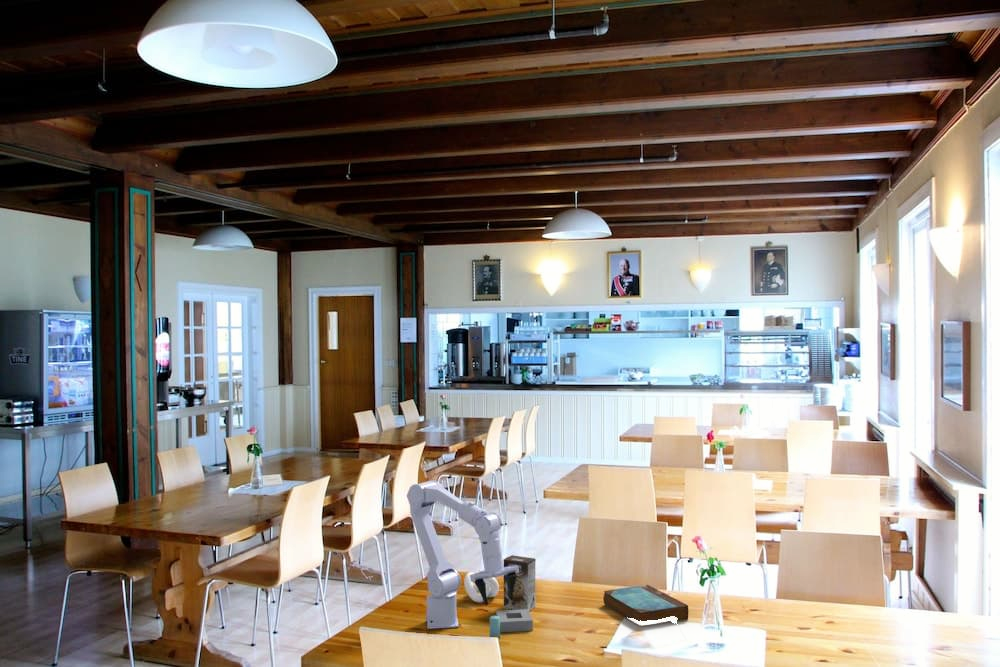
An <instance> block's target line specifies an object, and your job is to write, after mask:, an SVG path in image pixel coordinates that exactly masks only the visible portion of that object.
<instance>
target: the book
mask: <svg viewBox="0 0 1000 667" xmlns="http://www.w3.org/2000/svg"><path fill="white" fill-rule="evenodd" d="M603 592H604V593H603V603H604V604H605V605H606V606H605V605H604V606H605V607H607V606H608V607H607V608H609V609H610V608H611V609H610V610H612V611H613V610H614V611H613V612H616V614H618V615H620V616H621V617H623V618H625V619H626V618H627V617H628V618H634V619H636V620H638V621H640V620H641V621H647V620H658V619H662V618H666V617H670V616H675V617H677V618H678V621H682V620H689V605H688V604H686V603H685V602H682V601H681V600H678V599H677V598H675V597H672V596H670V595H669V594H667V593H665V592H663V591H660V589H659V590H658V588H655V587H653V586H651V585H649V584H646V585H636V586H629V587H628V586H627V587H622V588H614V589H608V590H603Z"/></svg>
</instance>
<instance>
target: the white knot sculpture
mask: <svg viewBox="0 0 1000 667" xmlns="http://www.w3.org/2000/svg"><path fill="white" fill-rule="evenodd" d="M482 571H484V568H483V569H481V570H479V571H478V572H482ZM474 573H475V572H471V571H470V572H468V573H466V575H465V577H464V579H463V583H464V589H465V592H466V593H467V596H468V597H469V598H470V599H471V600H472V601H474V602H475V603H484V602H483V598H482V596H481V594H480V591H479V590H478V588H477V586H476V585H475V583H474V582H471V579H470V574H474ZM483 580H484V582H485V583H486V596H487V598H493V597H496V596H497V595H498V594H499V590H500V585H499V582H498V580H497V579H496V577H493V578H488V579H483Z"/></svg>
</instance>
